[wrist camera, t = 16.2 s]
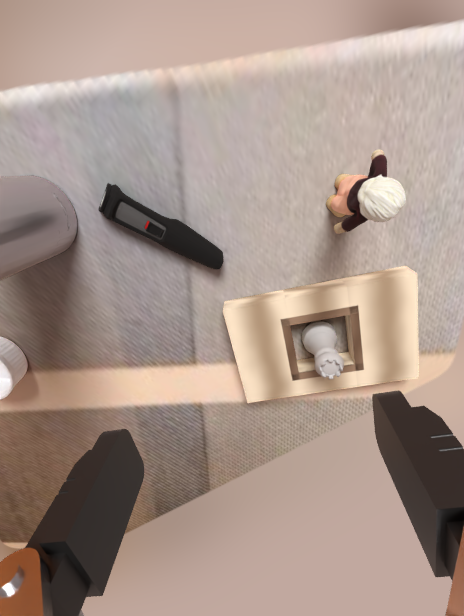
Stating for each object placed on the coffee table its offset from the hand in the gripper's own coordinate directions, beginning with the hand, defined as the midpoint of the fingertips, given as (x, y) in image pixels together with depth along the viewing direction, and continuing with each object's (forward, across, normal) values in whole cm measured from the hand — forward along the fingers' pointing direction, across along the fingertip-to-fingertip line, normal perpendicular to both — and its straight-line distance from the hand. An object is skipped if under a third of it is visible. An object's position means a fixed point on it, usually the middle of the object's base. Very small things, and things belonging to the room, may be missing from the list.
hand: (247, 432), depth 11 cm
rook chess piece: (+30, -6, +14) cm, 34 cm away
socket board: (+30, -6, +14) cm, 34 cm away
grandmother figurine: (+30, -11, -3) cm, 32 cm away
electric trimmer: (+31, +10, -4) cm, 32 cm away
